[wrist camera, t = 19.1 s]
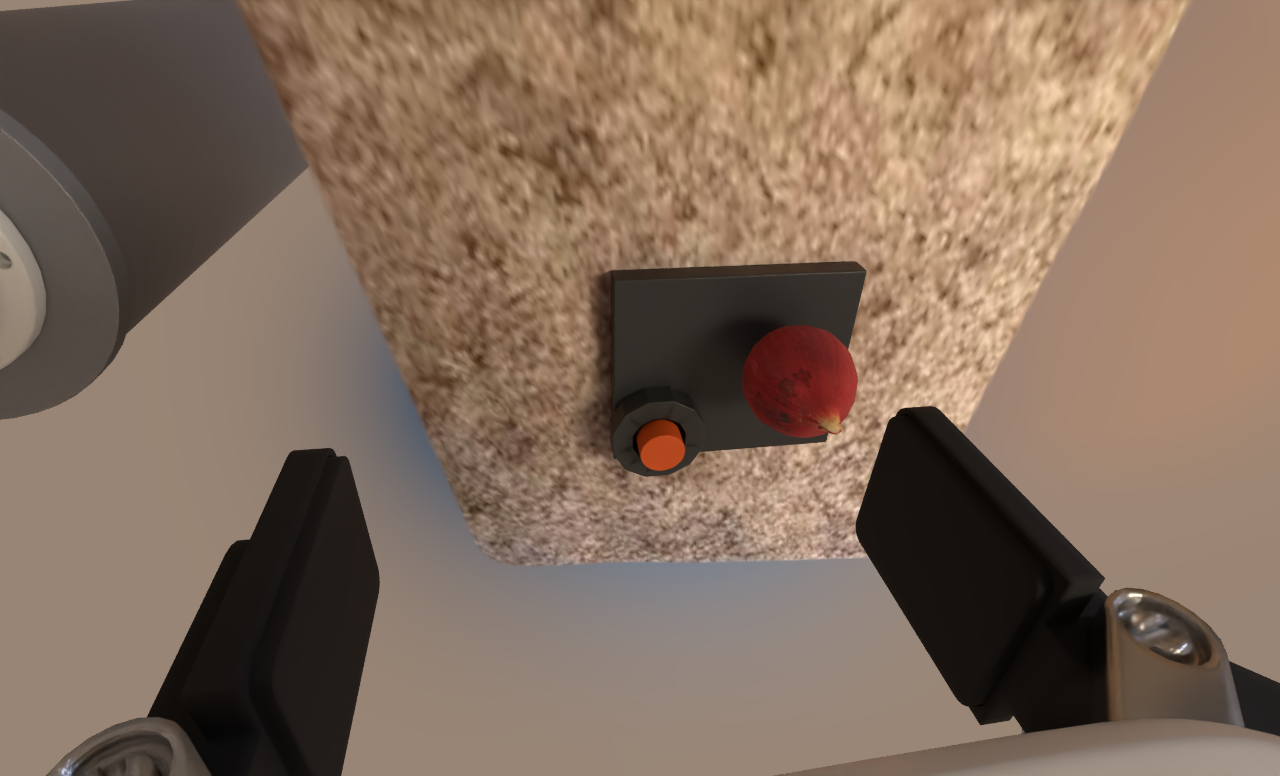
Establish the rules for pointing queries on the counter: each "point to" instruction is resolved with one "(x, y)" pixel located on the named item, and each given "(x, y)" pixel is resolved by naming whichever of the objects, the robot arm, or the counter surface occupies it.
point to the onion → (800, 381)
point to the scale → (711, 347)
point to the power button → (660, 445)
